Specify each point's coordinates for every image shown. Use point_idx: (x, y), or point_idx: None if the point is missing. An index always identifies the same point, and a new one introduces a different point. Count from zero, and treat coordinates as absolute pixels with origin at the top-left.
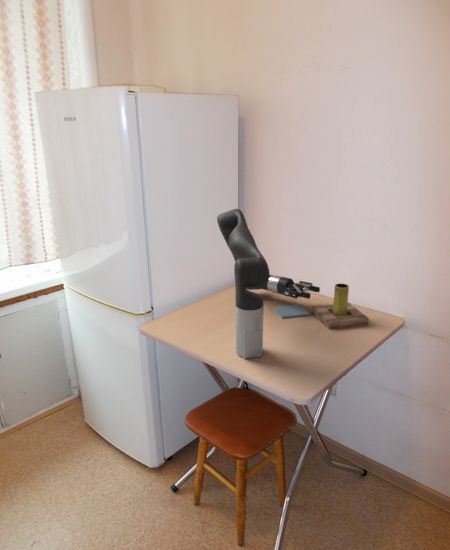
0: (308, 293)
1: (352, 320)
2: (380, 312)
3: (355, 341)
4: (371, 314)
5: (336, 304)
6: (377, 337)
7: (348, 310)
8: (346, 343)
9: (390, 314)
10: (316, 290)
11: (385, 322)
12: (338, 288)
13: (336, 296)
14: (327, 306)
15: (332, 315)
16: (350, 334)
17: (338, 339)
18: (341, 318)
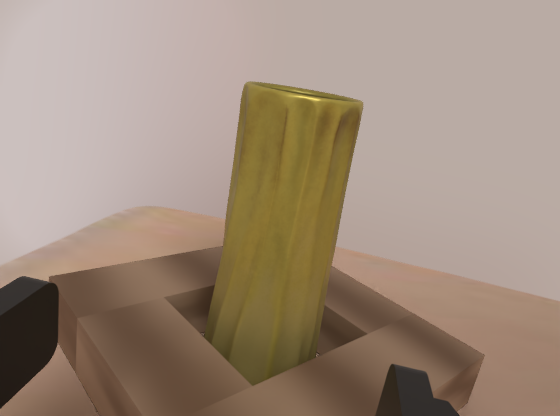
0: (420, 378)
1: (347, 278)
2: (91, 233)
3: (475, 309)
4: (126, 255)
5: (329, 260)
6: (373, 261)
7: (212, 282)
8: (530, 333)
9: (112, 217)
10: (25, 355)
11: (211, 234)
12: (359, 114)
13: (341, 194)
14: (172, 387)
15: (359, 347)
16: (427, 321)
17: (531, 359)
18: (367, 310)
